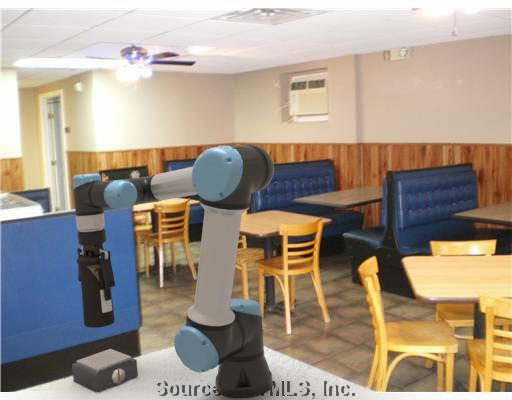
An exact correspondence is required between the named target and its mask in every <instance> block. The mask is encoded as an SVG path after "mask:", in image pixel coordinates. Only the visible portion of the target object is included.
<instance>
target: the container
mask: <svg viewBox="0 0 512 400" xmlns="http://www.w3.org/2000/svg"><path fill="white" fill-rule="evenodd" d="M76 264H79V265H80V276H81V281H80V287H81V298H82V299H81V300H82V312H83V313H82V314H83V325H84V326H85V328H90V329H91V328H92V329H93V328H94V329H96V328H97V329H98V328H103V327H107V326H110V325H113V324H114V323H115V321H116V320H115V312H114V310H115V309H114V303H113V294H112V293H113V292H112V291H111V302H112V311H109V312H105V313H102V305H101V294H100V288H102V287H101V284H100V281H99V273H98V269H100V270H102V267H101V262H100V258H99V257H89V255H86V256H84V255H83V256H80V257H79V258H78V257H77V259H76Z"/></svg>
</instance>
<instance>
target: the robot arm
mask: <svg viewBox="0 0 512 400" xmlns="http://www.w3.org/2000/svg"><path fill="white" fill-rule="evenodd" d="M274 172H275V164H274V160H273V158H272V157H271V155H270V154H269V152H268V151H267V150H265V148H262V147H261V146H259V145H255V144H242V145H240V144H239V145H236V144H235V145H218V146H214V147H211V148H207V149H206V150H204V151H203V152H202V153H201V154H199V155H198V157H197V158H196V160H195V162H194V163H193V166H188V167H185V168H181V169H175V170H171V171H167V172H161V173H157V174H152V175H148V176H140V177H135V178H134V177H133V178H132V177H131V178H124V179H115V180H102V179H101V178H102V177H101V174H99V173H84V174H76V175H74V176H73V177H72V192H73V199H74V209H75V210H74V211H75V223H76V224H75V225H76V230H78V231H77V241H78V245H80V246H82V247H79V248H77V251H76V252H77V256H78V257H77V259H78V258H79V257H80V256H83V255H84V256H86V255H89V257H99V258H100V262H101V267H102V270H100V269H98V273H99V281H100V284H101V287H102V288H100V294H101V305H102V313H105V312H109V311H112V302H111V292H112V288H113V287H115V286H116V282H115V277H114V270H113V266H112V260H111V251H110V250H105V249H104V245H103V244H104V243H106V242H107V232H106V229H105V228H104V227H105V226H106V223H105V214H104V213H105V210H104V209H110V210H111V209H113V210H117V211H118V210H120V211H121V210H125V209H130V208H132V206H133V207H134V206H138V205H144V204H150V203H152V204H153V203H159V202H161V201H167V200H174V199H177V198H183V197H188V196H189V197H190V196H195V195H196V196H197V195H198V196H199V198H198V200H199V201H198V202H199V205H201V207H202V208H203V209H204V215H203V223H202V232H201V240H200V249H199V260H198V268H197V276H196V277H197V278H196V286H195V293H194V294H195V296H194V304H193V305H191V306H190V307H189V308H188V309H187V311H186V316H185V317H186V318H185V325H184V326H182V327H181V328H179V329H178V330H177V331H176V332H175V335H174V338H173V339H174V340H173V345H174V350H175V353H176V356H177V357H178V358H179V359H180V362H181V363H182V364H183V365H184V366H185V367H186V368H187V369H189V370H190V371H192V372H194V373H195V372H196V373H205V372H206V373H207V372H208V371H211V370H214V369H215V368H217V367H218V369H217V374H216V377H215V389H216V391H217V392H218V393H219V394H221V395H223V396H226V397H229V398H250V397H255V396H256V397H257V396H259V395H261V394H264V393H266V392H267V391H269V390H270V389H271V388H272V387H273V384H274V383H273V374H272V371H271V369H270V366H269V364H268V361H267V359H266V356H265V349H264V333H263V318H262V317H263V314H262V308H261V305H260V303H259V302H258V301H256V300H254V299H248V298H232V294H233V293H232V292H233V286H234V278H235V271H236V270H235V269H236V264H237V263H236V261H237V255H238V246H239V238H240V231H241V225H242V215H243V214H244V213H245V212H247V211H248V210H249V209H250V206H251V197H252V194H255V193H259V192H261V191H262V190H264V189H265V188H266V187H268V185H270V183H271V181H272V179H273V178H274V174H275V173H274ZM77 264H78V263H77ZM77 266H78V267H77V272H78V273H77V274H78V275H77V279H78V282H80V283H81V276H80V265H79V264H78V265H77Z"/></svg>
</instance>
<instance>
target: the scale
mask: <svg viewBox="0 0 512 400" xmlns="http://www.w3.org/2000/svg"><path fill="white" fill-rule="evenodd" d="M71 367H72V368H71V370H72V378H73V379H72V380H73V382H74V383H76V384H77V385H80V386H82V387H84V388H86V389H89V390H90V391H91V392H94V393H96V392H99V393H101V392H103V391H106V390H108V389H111V388H114V387H116V386H119V385H121V384H123V383H126V382H128V381H130V380H133V379H135V378H138V377H139V371H138V360H137V358H136V359H135V358H133V357H132V356H130V355H128V354H126V353H123V352H120V351H117V350H114V349H112V348H109V349H106V350H103V351H100V352H98V353H94V354H92V355H89V356H86V357H83V358H80V359H76V362H75V363H72V364H71Z"/></svg>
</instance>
